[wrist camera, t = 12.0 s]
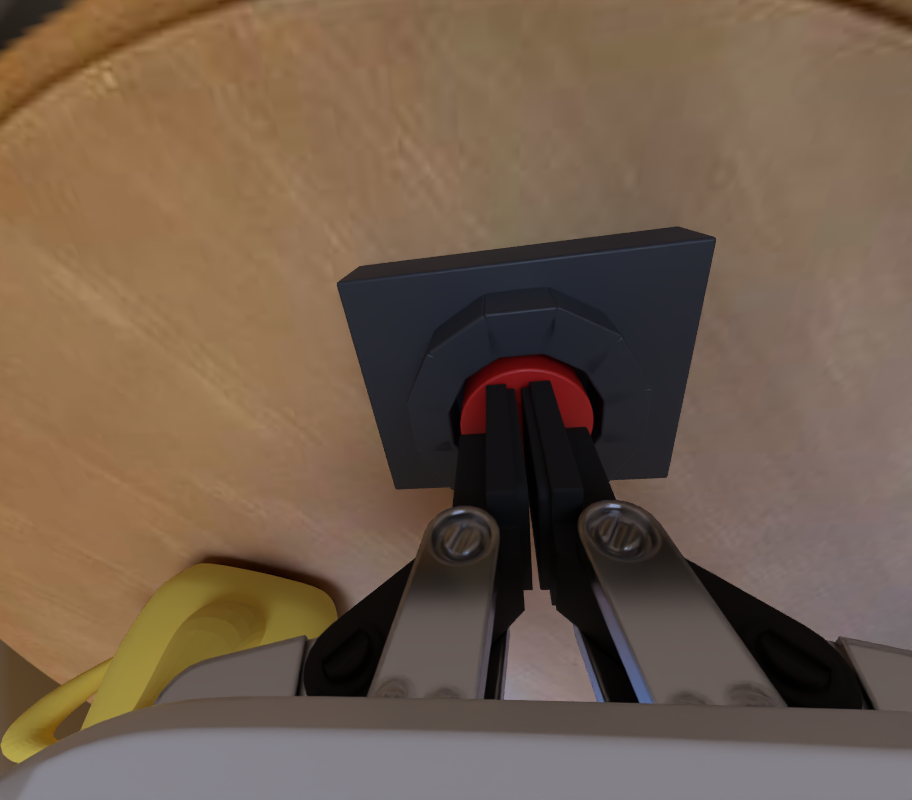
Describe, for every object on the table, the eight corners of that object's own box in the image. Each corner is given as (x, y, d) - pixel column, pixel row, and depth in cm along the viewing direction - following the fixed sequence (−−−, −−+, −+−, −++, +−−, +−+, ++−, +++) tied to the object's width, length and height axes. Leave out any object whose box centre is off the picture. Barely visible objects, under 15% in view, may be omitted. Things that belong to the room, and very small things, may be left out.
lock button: (582, 335, 11) (598, 362, 9) (578, 438, 12) (590, 474, 11) (457, 347, 11) (451, 375, 10) (469, 444, 13) (467, 480, 11)
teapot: (108, 561, 23) (-134, 809, 14) (266, 501, 19) (71, 792, 10) (263, 668, 28) (163, 889, 20) (407, 639, 25) (363, 897, 16)
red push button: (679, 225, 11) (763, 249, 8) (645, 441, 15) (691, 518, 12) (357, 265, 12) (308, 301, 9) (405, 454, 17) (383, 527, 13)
